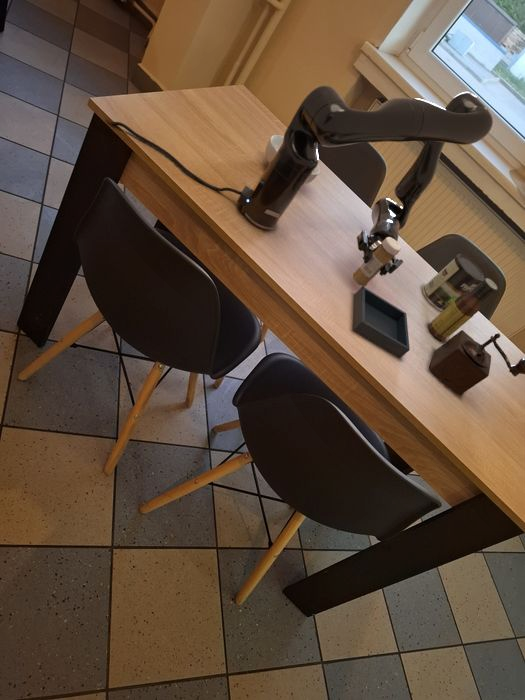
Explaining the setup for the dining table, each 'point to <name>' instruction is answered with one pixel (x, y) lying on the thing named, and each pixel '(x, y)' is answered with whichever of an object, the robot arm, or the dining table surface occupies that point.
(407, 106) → the robot arm
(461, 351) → the manual coffee grinder
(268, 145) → the cereal bowl
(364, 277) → the sprinkles bottle
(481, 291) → the sauce bottle
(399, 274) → the dining table surface
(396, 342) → the tray
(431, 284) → the coffee can
